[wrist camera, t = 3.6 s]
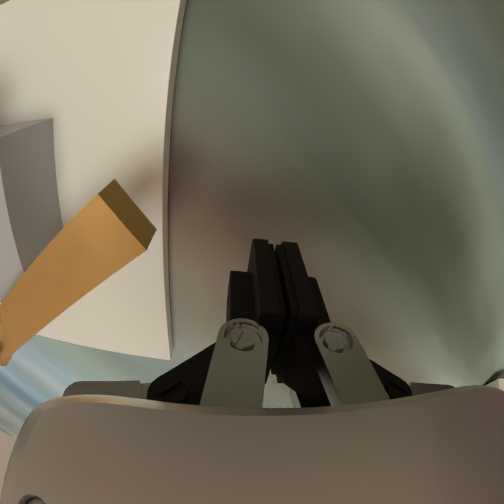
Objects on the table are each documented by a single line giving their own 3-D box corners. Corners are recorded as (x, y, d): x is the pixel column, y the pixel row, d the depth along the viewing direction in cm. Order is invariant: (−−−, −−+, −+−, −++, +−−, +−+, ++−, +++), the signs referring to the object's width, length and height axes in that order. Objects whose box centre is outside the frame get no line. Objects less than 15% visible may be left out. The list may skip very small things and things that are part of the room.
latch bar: (9, 355, 15) (-5, 381, 13) (-21, 326, 14) (-36, 352, 12) (162, 236, 11) (144, 279, 9) (108, 171, 9) (73, 200, 7)
